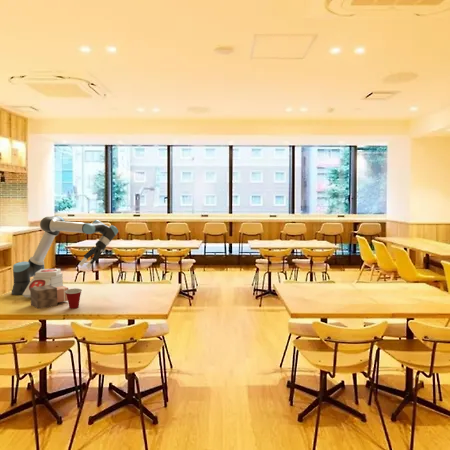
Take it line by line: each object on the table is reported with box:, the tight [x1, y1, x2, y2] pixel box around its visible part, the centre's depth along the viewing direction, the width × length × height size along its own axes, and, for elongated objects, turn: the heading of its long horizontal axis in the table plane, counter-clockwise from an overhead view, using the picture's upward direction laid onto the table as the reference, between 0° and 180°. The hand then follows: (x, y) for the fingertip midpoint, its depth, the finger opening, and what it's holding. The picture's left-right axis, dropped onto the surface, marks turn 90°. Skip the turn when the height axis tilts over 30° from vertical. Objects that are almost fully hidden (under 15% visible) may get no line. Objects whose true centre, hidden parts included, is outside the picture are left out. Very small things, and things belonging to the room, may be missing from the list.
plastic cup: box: [65, 288, 83, 310], centre depth 297 cm, size 11×11×12 cm
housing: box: [30, 285, 58, 310], centre depth 304 cm, size 13×14×12 cm
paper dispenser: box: [22, 268, 64, 299], centre depth 332 cm, size 19×30×18 cm, turn 167°
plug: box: [56, 285, 69, 304], centre depth 310 cm, size 12×9×9 cm
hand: (83, 266), depth 322 cm, fingers open, 11 cm apart
